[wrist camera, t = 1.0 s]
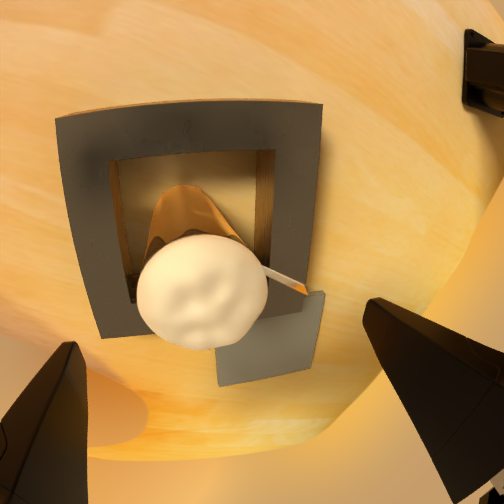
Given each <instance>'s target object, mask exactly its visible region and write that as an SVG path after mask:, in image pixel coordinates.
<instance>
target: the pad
mask: <svg viewBox="0 0 504 504" xmlns="http://www.w3.org/2000/svg"><path fill="white" fill-rule="evenodd" d="M324 298H325V294H324V292H323V291H317V292H311V293H309V295H305V294H304V299H303V306H302V312H298V313H293V314H287V315H282V316H276V317H270V318H264V319H258V320H256V321H255V322H254V324H253V325H252V327H251V328H250V330H249V331H248V332H247V333H246V334H245V335H244V336H243V337H242V338H241V339H240V340H239V341H238V342H236V343H234V344H230V345H226V346H221V347H216V348H215V353H216V366H217V379H218V385H219V387H222V386H228V385H234V384H239V383H245V382H250V381H255V380H260V379H265V378H270V377H275V376H279V375H284V374H288V373H293V372H297V371H301V370H306V369H310V367H311V363H312V358H313V354H314V349H315V344H316V339H317V335H318V330H319V325H320V319H321V314H322V309H323V304H324Z"/></svg>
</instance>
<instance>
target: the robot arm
mask: <svg viewBox="0 0 504 504" xmlns="http://www.w3.org/2000/svg"><path fill="white" fill-rule="evenodd" d="M462 100H463V103H464V104H465V105H468V106H471V107H474V108H476V109H479V110H482V111H485V112H488V113H490V114H493V115H496V116H498V117H501V118H503V117H504V45H503V44H495V43H494V42H492V41H491V40H489V39H487V38H486V37H484V36H482V35H481V34H479V33H477V32H476V31H474V30H472V29H466V30H465V61H464V82H463V96H462ZM362 322H363V326H364V329H365V331H366V333H367V335H368V337H369V340H370V342H371V344H372V346H373V349H374V351H375V353H376V356H377V358H378V360H379V362H380V364H381V366H382V368H383V369H384V371H385V373H386V375H387V376H388V378H389V380H390V382H391V384H392V385H393V387H394V389H395V391H396V393H397V395H398V396H399V398H400V400H401V402H402V403H403V405H404V407H405V409H406V411H407V413H408V415H409V416H410V418H411V420H412V422H413V424H414V426H415V428H416V430H417V432H418V434H419V435H420V438H421V439H422V441H423V443H424V445H425V447H426V449H427V451H428V453H429V455H430V457H431V458H432V461H433V463H434V465H435V467H436V469H437V471H438V473H439V475H440V477H441V479H442V481H443V484H444V486H445V488H446V490H447V492H448V494H449V496H450V498H451V500H452V502H453V504H457V503H459V502H460V501H462V500H463V499H465V498H466V497H468V496H469V495H470V494H472V493H473V492H474V491H476V490H477V489H479V488H480V487H481V486H483V485H484V484H485V483H486V482H488V481H489V480H490V481H491V483H492V484H493V486H494V487H492V488H491V489H490V490H489V491H488V492H487V493H486V494H484V495H483V496H482V497H481V498H480V500H479V504H504V353H503V352H500V351H497V350H495V349H492V348H490V347H487V346H485V345H483V344H481V343H478V342H476V341H474V340H472V339H470V338H466V337H465V336H463V335H461V334H459V333H457V332H455V331H452V330H450V329H448V328H446V327H444V326H442V325H439V324H437V323H435V322H433V321H431V320H428V319H426V318H424V317H422V316H420V315H418V314H415V313H413V312H411V311H409V310H407V309H404V308H402V307H400V306H398V305H396V304H393V303H391V302H389V301H387V300H385V299H382V298H380V297H378V298H373V299H370V300H368V302H367V304H366V308H365V312H364V315H363V320H362ZM87 432H88V401H87V374H86V363H85V360H84V358H83V355H82V353H81V351H80V348H79V346H78V344H77V343H76V342H75V341H70V342H63V343H62V344H61V345H60V346H59V347H58V348H57V350H56V351H55V352H54V353H53V354H52V356H51V357H50V358H49V359H48V361H47V362H46V363H45V364H44V365H43V367H42V368H41V369H40V370H39V372H38V373H37V374H36V375H35V377H34V378H33V379H32V380H31V381H30V383H29V384H28V385H27V387H26V388H25V389H24V390H23V392H22V393H21V394H20V396H19V397H18V398H17V399H16V401H15V402H14V404H13V405H12V406H11V407H10V409H9V410H8V411H7V413H6V414H5V416H4V417H3V418H2V420H1V422H0V504H88V490H87V489H88V488H87Z"/></svg>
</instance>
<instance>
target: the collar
mask: <svg viewBox="0 0 504 504" xmlns="http://www.w3.org/2000/svg"><path fill="white" fill-rule="evenodd" d="M322 110H323V104H319V103H312V102H305V101H298V100H278V99H197V100H178V101H164V102H152V103H141V104H132V105H123V106H116V107H108V108H101V109H94V110H88V111H82V112H76V113H71V114H68V115H65V116H62V117H58V118H55V124H56V135H57V145H58V154H59V162H60V170H61V177H62V183H63V190H64V196H65V201H66V207H67V212H68V217H69V222H70V227H71V232H72V237H73V241H74V245H75V250H76V254H77V258H78V262H79V266H80V270H81V274H82V277H83V281H84V285H85V288H86V292H87V295H88V298H89V302H90V305H91V308H92V311H93V315H94V318H95V321H96V324H97V327H98V330H99V333H100V336H101V339H106V338H117V337H128V336H138V335H147V334H155V333H154V332H153V331H152V330H151V329H150V328H149V326H148V325H147V324H146V323H145V321H144V320H143V318H142V317H141V315H140V312H139V310H138V305H137V286H138V281H139V277H140V273H138V274H133V271H132V265H131V260H130V254H129V248H128V242H127V236H126V229H125V222H124V215H123V208H122V200H121V192H120V183H119V173H118V163H117V160H121V159H130V158H139V157H148V156H158V155H169V154H182V153H195V152H212V151H232V150H257V167H256V201H255V235H254V255H255V256H256V257H257V259H258V260H259V262H260V263H261V265H263V266H266V267H268V268H270V269H272V270H274V271H276V272H279V273H281V274H283V275H285V276H287V277H290V278H292V279H294V280H296V281H298V282H301V283H303V284H306V277H307V269H308V261H309V253H310V244H311V236H312V227H313V217H314V208H315V198H316V187H317V176H318V165H319V153H320V140H321V126H322ZM266 279H267V285H268V296H267V301H266V304H265V307H264V309H263V311H262V312H261V314H260V315H259V317H258V318H257V319H256V320H258V319H264V318H270V317H276V316H282V315H287V314H293V313H298V312H302V306H303V299H304V294H303V293H301V292H299V291H297V290H295V289H293V288H291V287H289V286H287V285H285V284H282V283H280V282H278V281H276V280H274V279H272V278H270V277H268V276H266Z"/></svg>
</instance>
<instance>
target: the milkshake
mask: <svg viewBox="0 0 504 504" xmlns="http://www.w3.org/2000/svg"><path fill="white" fill-rule="evenodd" d="M266 276H268V277H270V278H272V279H274V280H276V281H278V282H280V283H282V284H285V285H287V286H289V287H291V288H293V289H295V290H297V291H299V292H301V293H303V294H305V295H309V293H308V290H307V287H306V285H305V284H303V283H301V282H298V281H296V280H294V279H292V278H290V277H287V276H285V275H283V274H281V273H279V272H276V271H274V270H272V269H270V268H268V267H266V266H263V265H261V263H260V262H259V260H258V259H257V257H256V256H255V255H254V254H253V253H252V251H251V250H250V249H249V248H248V247H247V245H246V244H245V243H244V242H243V241H242V240H241V238H240V237H239V236H238V235H237V234H236V232H235V231H234V230H233V229H232V228H231V227H230V225H229V224H228V223H227V221H226V220H225V219H224V217H223V216H222V215H221V213H220V212H219V210H218V209H217V208H216V206H215V205H214V204H213V202H212V201H211V200H210V199H209V198H208V197H207V196H206V195H205V194H204V193H203V192H202V191H201V190H200V189H199V188H198V187H193V186H186V185H178V186H176V187H174V188H172V189H170V190H168V191H166V192H164V193H163V194H162V196H161V197H160V199H159V201H158V203H157V205H156V207H155V209H154V212H153V217H152V222H151V226H150V231H149V236H148V241H147V247H146V252H145V256H144V260H143V264H142V268H141V272H140V277H139V281H138V286H137V305H138V310H139V312H140V315H141V317H142V318H143V320H144V321H145V323H146V324H147V325H148V326H149V328H150V329H151V330H152V331H153V332H154V333H155V334H157V335H158V336H159V337H160V338H162V339H163V340H165V341H167V342H170V343H172V344H175V345H178V346H181V347H184V348H187V349H191V350H198V351H200V350H208V349H212V348H216V347H221V346H226V345H230V344H234V343H236V342H238V341H239V340H240V339H241V338H242V337H243V336H244V335H245V334H246V333H247V332H248V331H249V330H250V328H251V327H252V325H253V324H254V322H255V321H256V319H257V318H258V317H259V315H260V314H261V312H262V311H263V309H264V307H265V304H266V301H267V296H268V285H267V279H266Z"/></svg>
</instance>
